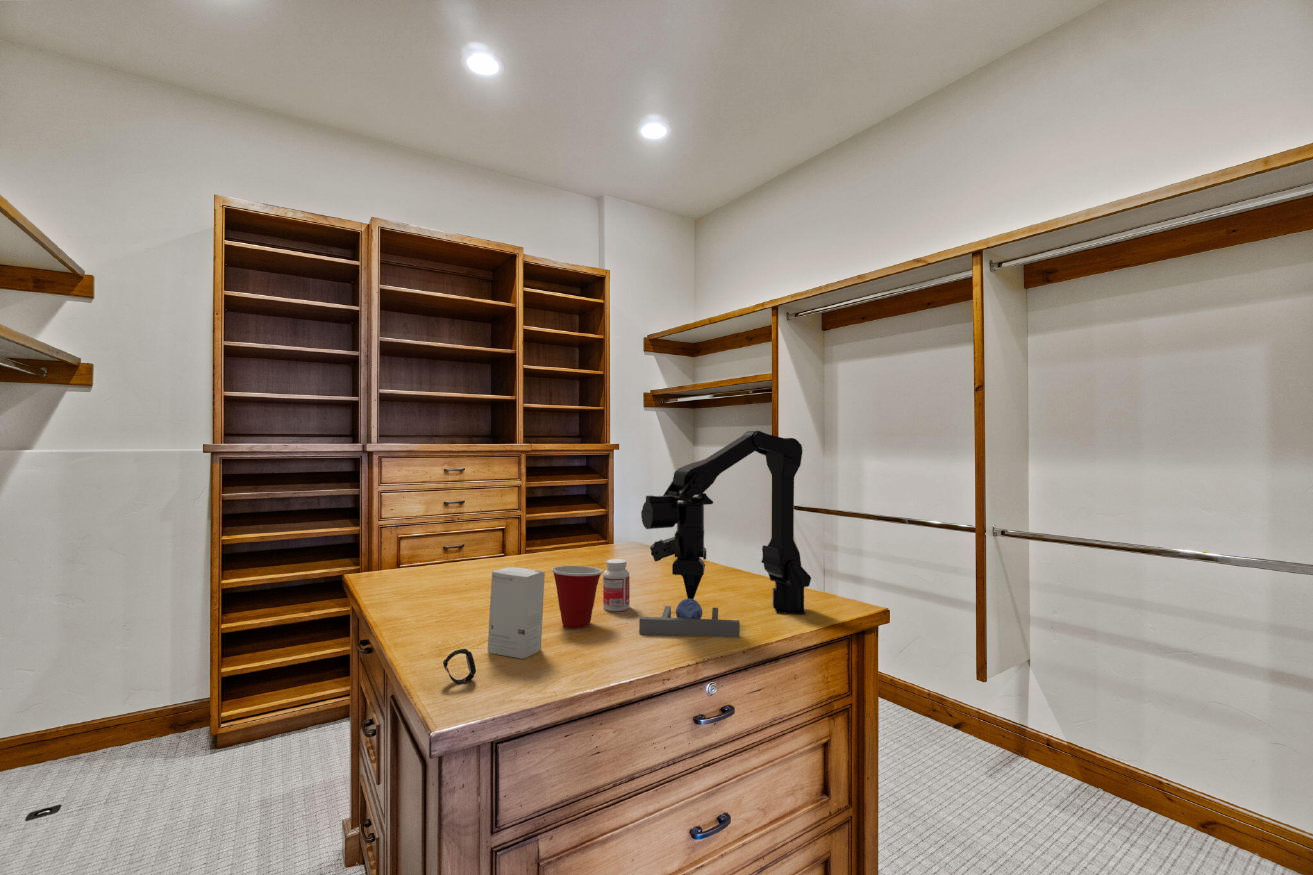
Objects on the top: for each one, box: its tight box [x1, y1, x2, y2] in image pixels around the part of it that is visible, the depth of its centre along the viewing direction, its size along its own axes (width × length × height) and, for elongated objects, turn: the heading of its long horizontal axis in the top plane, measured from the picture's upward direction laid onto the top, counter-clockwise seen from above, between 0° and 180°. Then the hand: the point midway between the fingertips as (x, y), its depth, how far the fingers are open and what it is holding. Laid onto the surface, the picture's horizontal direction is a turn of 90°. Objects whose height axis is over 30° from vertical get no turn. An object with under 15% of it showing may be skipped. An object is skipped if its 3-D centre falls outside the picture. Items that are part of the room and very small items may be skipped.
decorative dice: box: [675, 598, 703, 619], centre depth 117 cm, size 4×4×4 cm
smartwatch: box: [442, 648, 477, 685], centre depth 90 cm, size 4×5×5 cm
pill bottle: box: [602, 558, 631, 612], centre depth 132 cm, size 6×6×11 cm
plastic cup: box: [551, 565, 604, 630], centre depth 120 cm, size 11×11×12 cm
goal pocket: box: [638, 605, 741, 639], centre depth 117 cm, size 20×10×3 cm, turn 83°
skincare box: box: [487, 566, 546, 660], centre depth 104 cm, size 8×6×15 cm
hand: (690, 599), depth 120 cm, fingers closed
